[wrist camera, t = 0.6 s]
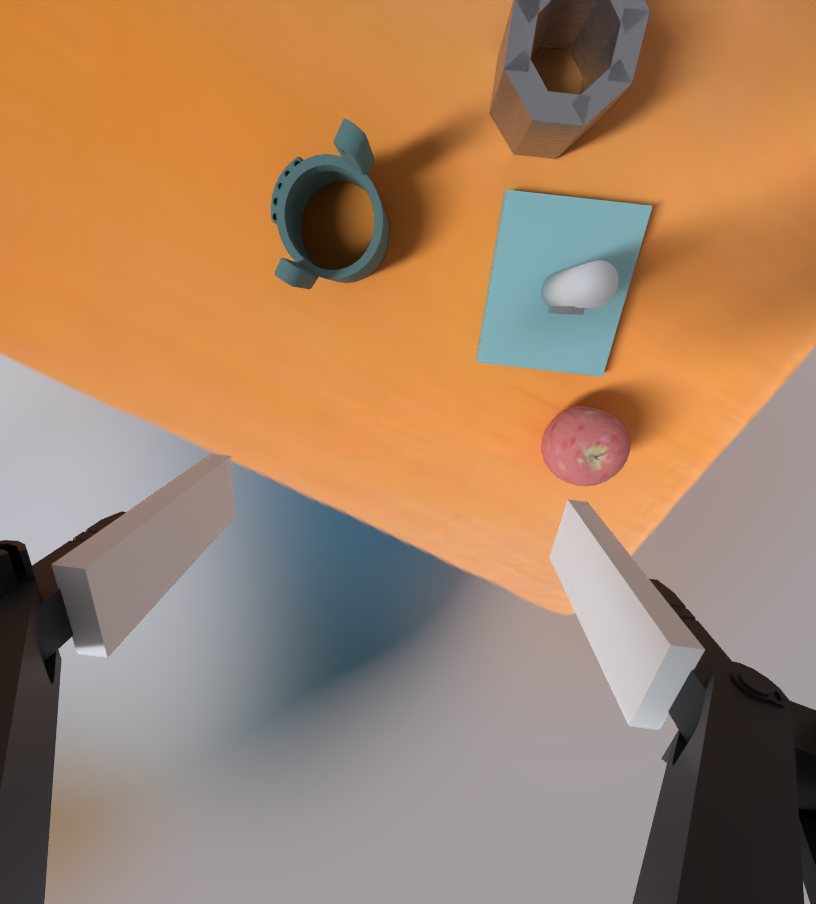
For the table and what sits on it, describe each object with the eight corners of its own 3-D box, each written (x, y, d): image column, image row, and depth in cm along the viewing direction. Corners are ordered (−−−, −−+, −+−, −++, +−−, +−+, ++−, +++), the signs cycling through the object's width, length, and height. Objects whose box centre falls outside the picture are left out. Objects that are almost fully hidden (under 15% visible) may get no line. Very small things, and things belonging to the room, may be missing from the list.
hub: (504, 14, 28) (523, -60, 22) (616, 26, 28) (664, -45, 22) (484, 151, 31) (496, 116, 25) (585, 162, 31) (620, 129, 25)
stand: (504, 193, 32) (531, 151, 23) (644, 209, 32) (724, 172, 23) (476, 360, 37) (490, 376, 28) (597, 374, 37) (648, 394, 28)
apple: (518, 448, 40) (539, 479, 33) (557, 385, 38) (588, 405, 30) (578, 476, 41) (611, 513, 33) (620, 417, 38) (666, 443, 31)
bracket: (381, 163, 32) (363, 110, 23) (396, 281, 35) (385, 272, 27) (279, 181, 33) (227, 136, 24) (303, 295, 36) (263, 290, 27)
